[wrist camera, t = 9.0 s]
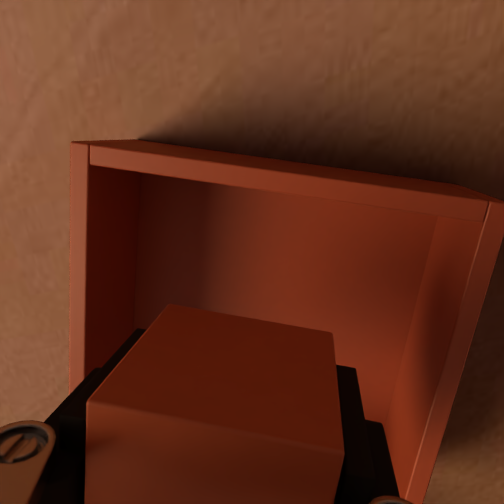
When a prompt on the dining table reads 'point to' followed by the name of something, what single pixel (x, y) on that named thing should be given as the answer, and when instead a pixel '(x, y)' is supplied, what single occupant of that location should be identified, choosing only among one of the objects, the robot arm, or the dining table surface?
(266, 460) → the terracotta block
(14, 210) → the dining table surface
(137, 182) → the terracotta bin
